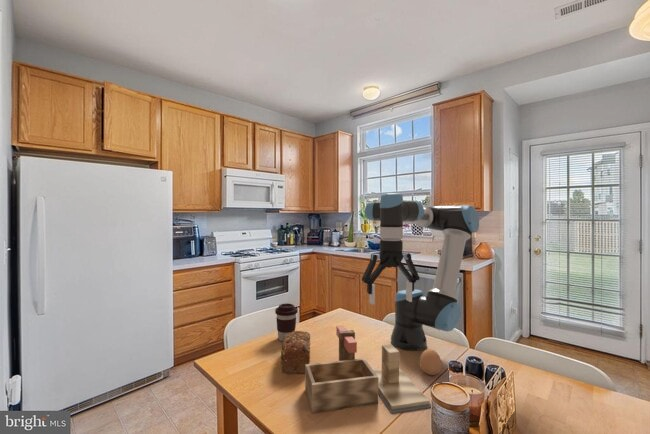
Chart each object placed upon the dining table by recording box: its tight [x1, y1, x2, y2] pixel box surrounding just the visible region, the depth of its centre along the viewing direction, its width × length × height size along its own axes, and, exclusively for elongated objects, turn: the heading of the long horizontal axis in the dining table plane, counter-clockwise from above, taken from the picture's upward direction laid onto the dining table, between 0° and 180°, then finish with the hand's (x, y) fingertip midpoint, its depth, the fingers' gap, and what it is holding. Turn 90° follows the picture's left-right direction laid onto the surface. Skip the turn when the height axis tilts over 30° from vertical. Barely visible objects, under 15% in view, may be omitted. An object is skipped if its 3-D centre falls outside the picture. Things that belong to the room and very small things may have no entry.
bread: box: [280, 330, 311, 375], centre depth 115 cm, size 19×11×10 cm, turn 2°
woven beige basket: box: [304, 329, 379, 414], centre depth 98 cm, size 20×22×14 cm
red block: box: [335, 324, 358, 354], centre depth 110 cm, size 3×16×4 cm, turn 13°
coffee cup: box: [274, 303, 298, 342], centre depth 137 cm, size 10×10×15 cm
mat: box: [378, 390, 432, 414], centre depth 98 cm, size 13×22×1 cm, turn 13°
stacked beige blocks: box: [373, 343, 430, 409], centre depth 98 cm, size 20×12×11 cm, turn 13°
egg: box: [419, 348, 443, 376], centre depth 107 cm, size 7×7×8 cm
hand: (390, 302), depth 102 cm, fingers open, 13 cm apart
